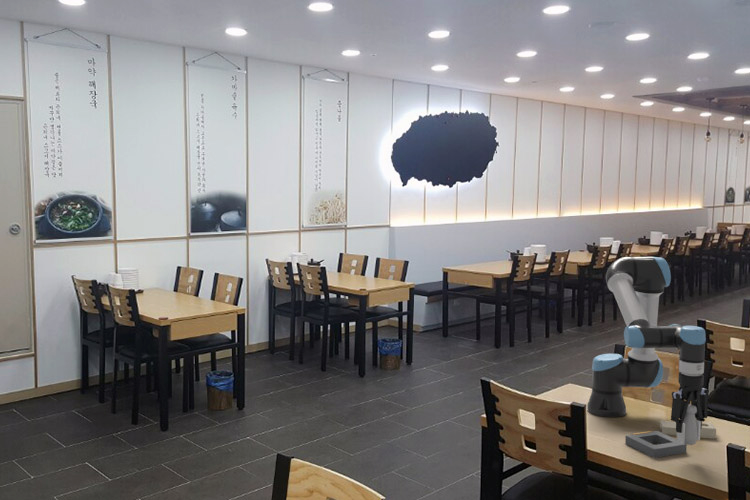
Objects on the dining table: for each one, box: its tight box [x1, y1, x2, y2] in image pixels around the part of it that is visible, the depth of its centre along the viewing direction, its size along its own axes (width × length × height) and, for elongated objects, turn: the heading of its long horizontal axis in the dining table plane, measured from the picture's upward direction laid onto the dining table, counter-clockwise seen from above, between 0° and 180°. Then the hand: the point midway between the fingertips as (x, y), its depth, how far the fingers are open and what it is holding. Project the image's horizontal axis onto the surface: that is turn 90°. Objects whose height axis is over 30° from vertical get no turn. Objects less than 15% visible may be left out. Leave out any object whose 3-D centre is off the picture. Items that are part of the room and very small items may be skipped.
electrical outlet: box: [659, 420, 717, 439], centre depth 248 cm, size 7×4×18 cm
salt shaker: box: [683, 403, 698, 446], centre depth 223 cm, size 6×6×13 cm
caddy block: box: [625, 430, 688, 459], centre depth 233 cm, size 14×14×3 cm
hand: (688, 439), depth 223 cm, fingers closed on salt shaker, 6 cm apart
